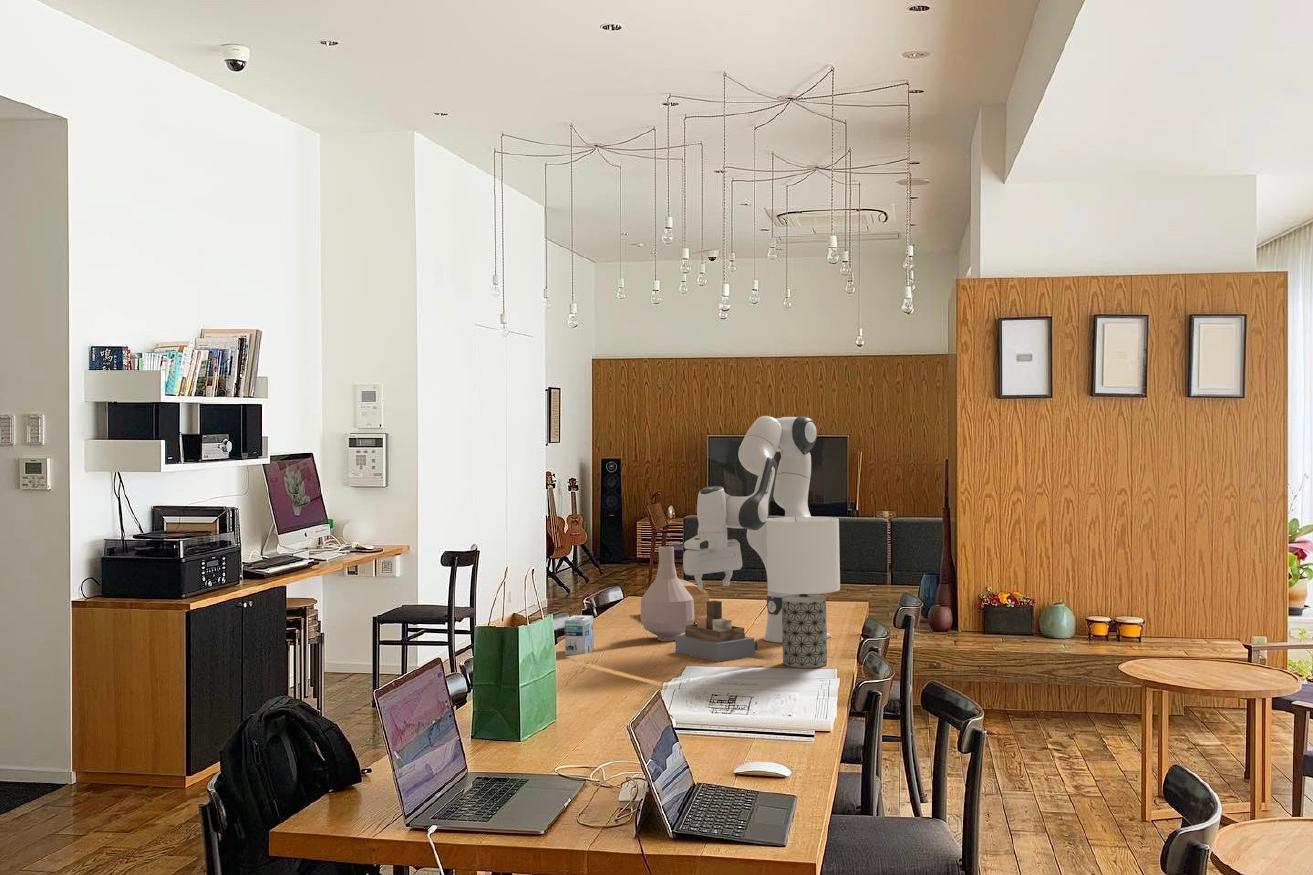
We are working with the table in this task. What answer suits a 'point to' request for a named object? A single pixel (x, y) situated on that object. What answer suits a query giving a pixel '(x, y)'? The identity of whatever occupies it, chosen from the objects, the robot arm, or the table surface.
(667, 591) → the vase
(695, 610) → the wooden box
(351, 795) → the table surface
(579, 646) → the light bulb box
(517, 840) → the table surface
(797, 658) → the lamp
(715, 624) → the cream block
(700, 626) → the terracotta block
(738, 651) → the loading dock
